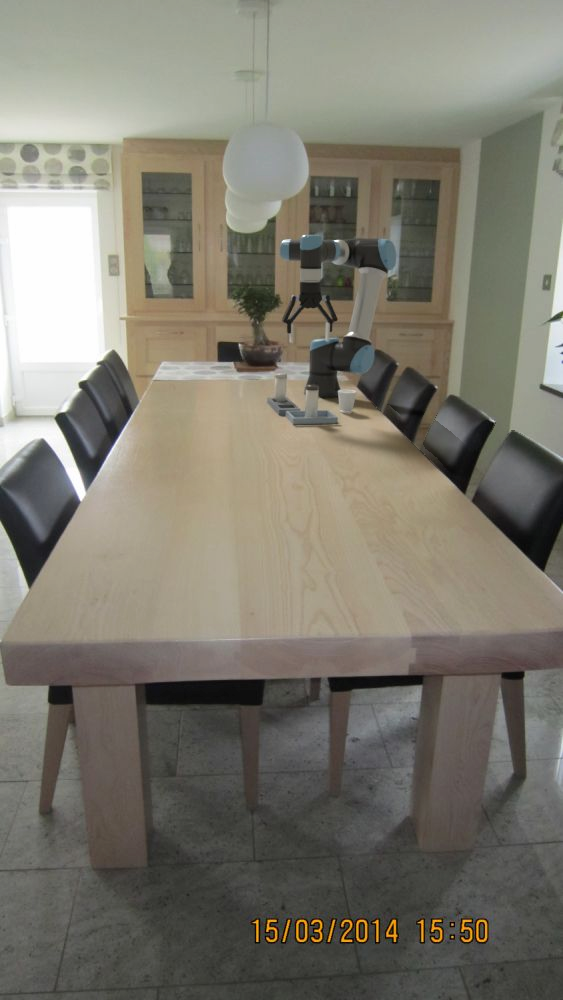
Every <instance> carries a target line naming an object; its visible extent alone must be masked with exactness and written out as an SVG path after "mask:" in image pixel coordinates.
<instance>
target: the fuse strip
mask: <svg viewBox="0 0 563 1000" xmlns="http://www.w3.org/2000/svg"><path fill="white" fill-rule="evenodd" d="M274 400H275V397H267V398H266V404H268V405H269V406H270V408H271V409H272V410H273V411H274V412H275V413H276V414H277V415H278V416H286V411H302V410H301V409H300V407H299V406H298V405H296V404H295V403H294V402H293V401H292V400H291V399H290V398H289V397H288V396H286V402H274Z"/></svg>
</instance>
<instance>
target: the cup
mask: <svg viewBox="0 0 563 1000" xmlns="http://www.w3.org/2000/svg"><path fill="white" fill-rule="evenodd" d="M356 396H357V391H356V390H353V389H340V390H339V391H338V396H337V398H338V404H339V405H338V406H339V409H340V413H341V414H345V415H346V414H347V415H348V414H352V412H353V411H352V410H353V408H354V405H355V400H356Z"/></svg>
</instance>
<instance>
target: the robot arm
mask: <svg viewBox="0 0 563 1000" xmlns="http://www.w3.org/2000/svg"><path fill="white" fill-rule="evenodd" d="M279 255H280V257H281V259H282V260H283V261H290V262H294V261H295V262H299V263H300V264H299V265H300V266H299V267H300V268H299V280H300V282H299V295H298V296H297V295H294V294H292V295H291V296H290V299H289V300H290V301H289V303H288V306H287V307H286V310H285V312H284V314H283V316H282V318H281V322H283V323H284V324H286V333H287V334H289V343H290V344H294V324H293V322H294V320H296V318H297V317H298V316H299V314H300V313H301V312H302V311H303V310H304V309H317V310H319V312H320V314H321V315H322V316H323V317H324V319H325V320H326V321H327V322H325V337H324V338H317V339H316V338H315V339H313V340H312V341H311V342H310V347H309V348H310V349H309V374H308V377H307V381H306V382H305V386H304V391H303V394H304V395H305V396H306V385H318V386H319V390H318V398H325V399H326V398H336V397H337V398H338V391H339V390H341V386H340V382H339V378H338V372H341V373H342V372H343V373H349V374H353V375H357V374H359V375H363V374H365V373H367V372H368V371H369V370H370V369H371V368H372V366H373V364H374V362H375V361H374V360H375V348H374V347H373V346H372V343H373V342H372V340H371V339H370V335H371V331H372V327H373V322H374V317H375V315H376V314H375V312H376V309H377V304H378V299H379V296H380V291H381V286H382V283H383V279H385V278H386V277H387V276H388V273H389V271H392V270H394V268H395V267H396V264H397V250H396V246H395V244H394V242H393V241H392V240H391V239H387V238H369V237H368V238H366V237H365V238H362V237H356V238H355V237H354V238H349V239H336V240H335V239H323V237H322V235H321V234H303V235H301V237H300V238H297V239H294V238H288V239H283V240H282V241H281V242H280V246H279ZM323 263H332V264H334V265H337V266H344V267H349V268H354V269H358V272H359V275H360V279H359V284H358V288H357V293H356V297H355V300H354V301H355V302H354V306H353V311H352V315H351V320H350V324H349V327H348V332H347V334H344V335H343V338H342V342H341V341H340V338H339V337H330V335H331V333H332V332H333V324H334V323H335V322H337V321H338V317H337V314H336V312H335V309H334V307H333V305H332V303H331V299H330V298H331V297H330V295H329V294H325V295H322V283H321V280H322V264H323ZM322 300H323V302H324V303H325V305H326V308H327V310H328V312H329V314H328V312H326V310H325V309H324V307H323V306H322V305H321V304H320V303H321V301H322ZM298 301H299V302H300V303H299V304H298V305H297V307H296V309H295V310H294V311H293V309H294V307H295V305H296V303H297V302H298ZM292 311H293V312H292ZM291 313H292V314H291Z"/></svg>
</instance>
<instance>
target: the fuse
mask: <svg viewBox="0 0 563 1000" xmlns="http://www.w3.org/2000/svg"><path fill="white" fill-rule="evenodd" d="M287 380H288V374H287V373H281V372H280V373H278V372H277V373H275V374H274V398H275V400H274V402H286V397H287Z"/></svg>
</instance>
